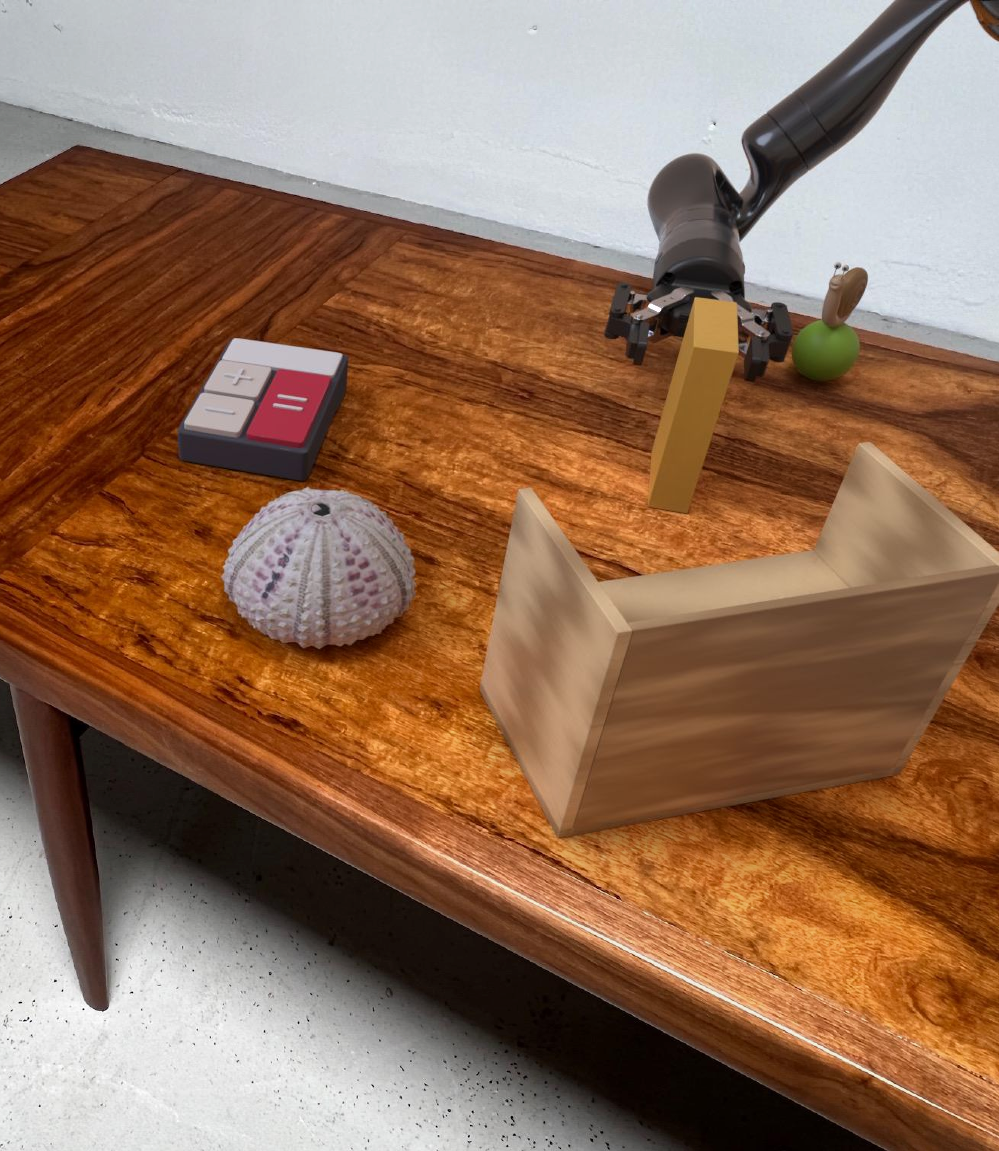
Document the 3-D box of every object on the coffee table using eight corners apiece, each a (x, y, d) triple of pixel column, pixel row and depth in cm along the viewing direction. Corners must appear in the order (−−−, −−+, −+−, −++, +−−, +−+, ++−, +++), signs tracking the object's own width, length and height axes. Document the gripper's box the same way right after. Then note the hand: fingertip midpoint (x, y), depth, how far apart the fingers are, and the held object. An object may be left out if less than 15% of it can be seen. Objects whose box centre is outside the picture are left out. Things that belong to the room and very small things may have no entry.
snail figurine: (766, 379, 103) (809, 254, 95) (801, 355, 106) (845, 233, 98) (824, 402, 99) (873, 275, 92) (858, 377, 103) (908, 252, 95)
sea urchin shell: (435, 654, 75) (449, 561, 70) (236, 675, 74) (235, 582, 69) (386, 533, 86) (396, 444, 80) (210, 550, 84) (208, 461, 79)
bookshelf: (478, 689, 73) (517, 488, 63) (785, 639, 76) (870, 441, 66) (557, 838, 64) (617, 632, 54) (900, 774, 67) (1019, 569, 57)
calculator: (174, 423, 91) (230, 329, 101) (177, 466, 94) (231, 370, 104) (307, 445, 88) (350, 346, 98) (306, 488, 91) (347, 388, 101)
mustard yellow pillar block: (647, 506, 88) (693, 346, 79) (651, 450, 94) (694, 295, 85) (687, 514, 87) (738, 352, 78) (689, 457, 93) (737, 301, 84)
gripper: (769, 326, 101) (777, 418, 90) (606, 304, 105) (593, 390, 93) (796, 246, 97) (807, 333, 85) (624, 226, 100) (612, 307, 88)
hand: (695, 363), depth 89 cm, fingers open, 8 cm apart
